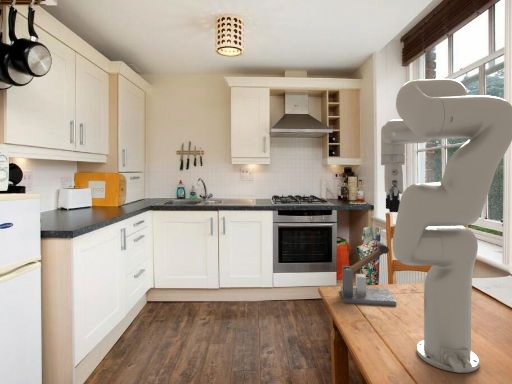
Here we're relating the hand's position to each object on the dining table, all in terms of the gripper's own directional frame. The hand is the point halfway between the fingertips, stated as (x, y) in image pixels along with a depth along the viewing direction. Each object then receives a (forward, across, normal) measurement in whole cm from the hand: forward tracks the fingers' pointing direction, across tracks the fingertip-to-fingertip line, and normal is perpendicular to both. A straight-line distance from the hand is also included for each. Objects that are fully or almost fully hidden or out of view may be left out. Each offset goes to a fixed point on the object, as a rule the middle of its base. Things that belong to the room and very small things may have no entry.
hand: (392, 210), depth 109 cm
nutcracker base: (+31, -1, +8) cm, 33 cm away
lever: (+19, 0, +8) cm, 20 cm away
